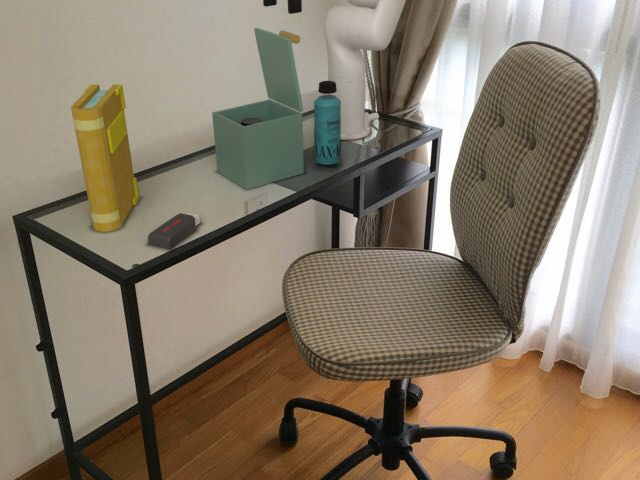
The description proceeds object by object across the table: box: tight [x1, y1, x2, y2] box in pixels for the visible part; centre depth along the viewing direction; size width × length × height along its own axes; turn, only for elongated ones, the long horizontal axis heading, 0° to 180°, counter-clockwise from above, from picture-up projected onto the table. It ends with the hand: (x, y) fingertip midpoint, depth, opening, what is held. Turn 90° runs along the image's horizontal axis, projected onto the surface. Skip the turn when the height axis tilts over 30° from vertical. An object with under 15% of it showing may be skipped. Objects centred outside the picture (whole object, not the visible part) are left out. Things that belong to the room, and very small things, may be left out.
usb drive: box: [147, 212, 201, 250], centre depth 157 cm, size 5×12×3 cm, turn 154°
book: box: [70, 84, 140, 233], centre depth 160 cm, size 17×7×25 cm, turn 178°
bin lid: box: [253, 27, 304, 113], centre depth 177 cm, size 16×14×6 cm
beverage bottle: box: [313, 80, 342, 166], centre depth 182 cm, size 6×7×20 cm
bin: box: [211, 98, 305, 190], centre depth 181 cm, size 16×14×14 cm
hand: (282, 9), depth 170 cm, fingers open, 9 cm apart
